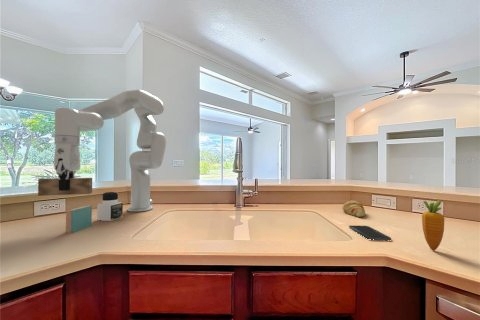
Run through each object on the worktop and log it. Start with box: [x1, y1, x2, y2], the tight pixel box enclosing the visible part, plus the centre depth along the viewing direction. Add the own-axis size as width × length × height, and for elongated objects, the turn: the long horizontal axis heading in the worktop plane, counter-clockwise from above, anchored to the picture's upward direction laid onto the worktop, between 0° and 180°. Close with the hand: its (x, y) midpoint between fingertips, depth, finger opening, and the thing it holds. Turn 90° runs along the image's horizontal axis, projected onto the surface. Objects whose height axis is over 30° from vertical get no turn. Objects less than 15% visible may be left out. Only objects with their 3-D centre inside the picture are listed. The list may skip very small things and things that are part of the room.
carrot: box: [421, 200, 445, 251], centre depth 64 cm, size 5×5×15 cm
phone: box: [348, 225, 392, 241], centre depth 80 cm, size 8×1×15 cm
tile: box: [65, 205, 93, 234], centre depth 83 cm, size 3×9×8 cm, turn 175°
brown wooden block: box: [37, 177, 93, 197], centre depth 82 cm, size 16×3×6 cm, turn 107°
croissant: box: [342, 199, 366, 218], centre depth 112 cm, size 21×10×8 cm, turn 171°
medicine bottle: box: [96, 191, 124, 222], centre depth 98 cm, size 7×7×12 cm
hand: (66, 189), depth 82 cm, fingers closed on brown wooden block, 2 cm apart
